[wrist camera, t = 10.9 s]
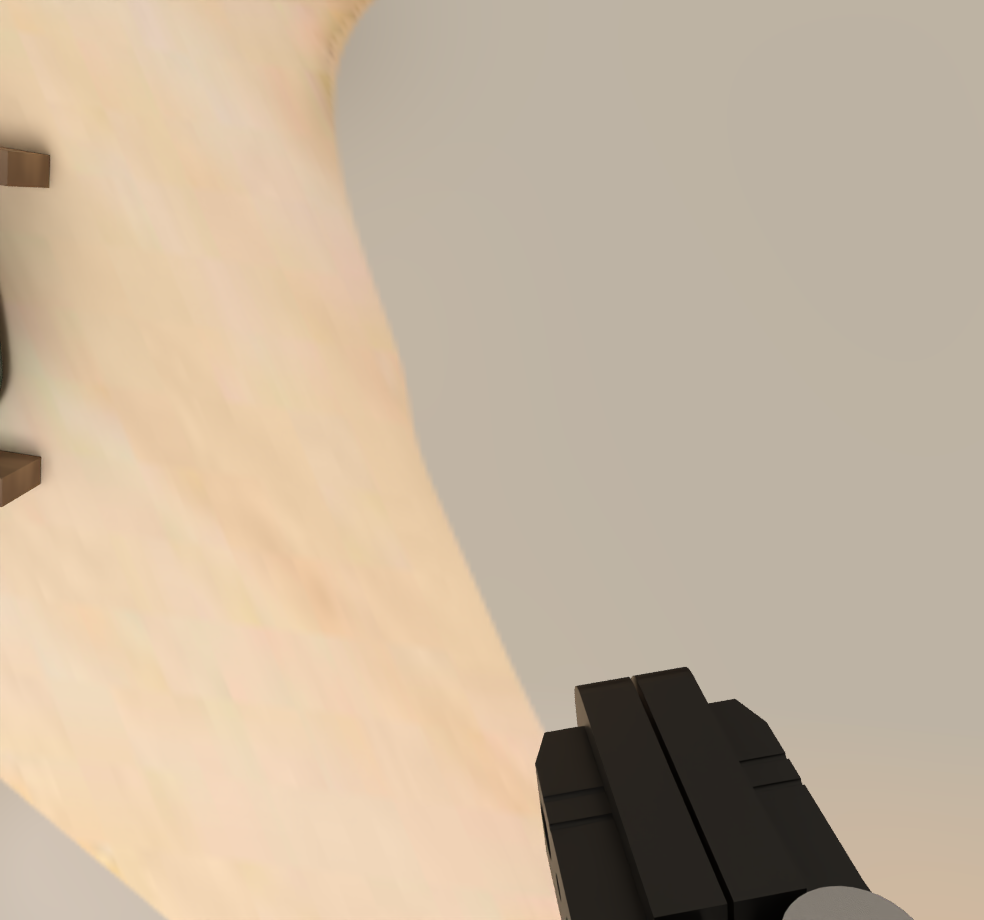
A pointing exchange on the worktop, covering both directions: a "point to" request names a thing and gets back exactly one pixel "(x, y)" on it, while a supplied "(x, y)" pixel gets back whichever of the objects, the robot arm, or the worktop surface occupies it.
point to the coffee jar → (0, 367)
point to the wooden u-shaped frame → (4, 471)
